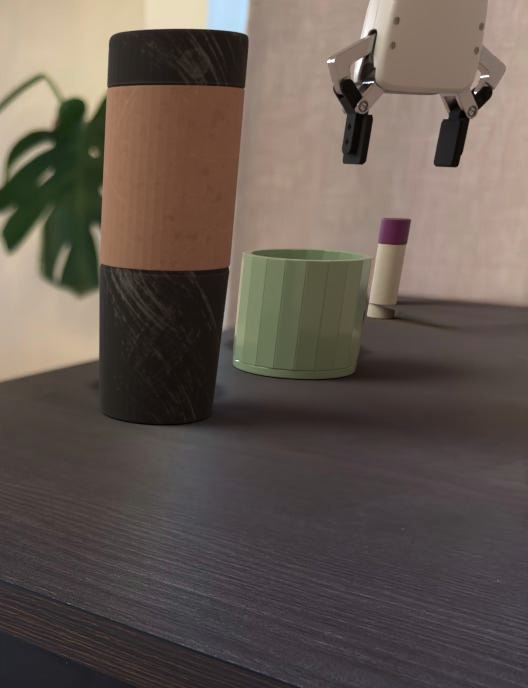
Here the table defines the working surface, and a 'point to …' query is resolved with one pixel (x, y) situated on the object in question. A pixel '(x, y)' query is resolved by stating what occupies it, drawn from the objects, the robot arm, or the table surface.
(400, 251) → the glue stick
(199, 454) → the table surface
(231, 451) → the table surface
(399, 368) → the table surface
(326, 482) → the table surface
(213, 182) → the travel mug
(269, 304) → the cup
